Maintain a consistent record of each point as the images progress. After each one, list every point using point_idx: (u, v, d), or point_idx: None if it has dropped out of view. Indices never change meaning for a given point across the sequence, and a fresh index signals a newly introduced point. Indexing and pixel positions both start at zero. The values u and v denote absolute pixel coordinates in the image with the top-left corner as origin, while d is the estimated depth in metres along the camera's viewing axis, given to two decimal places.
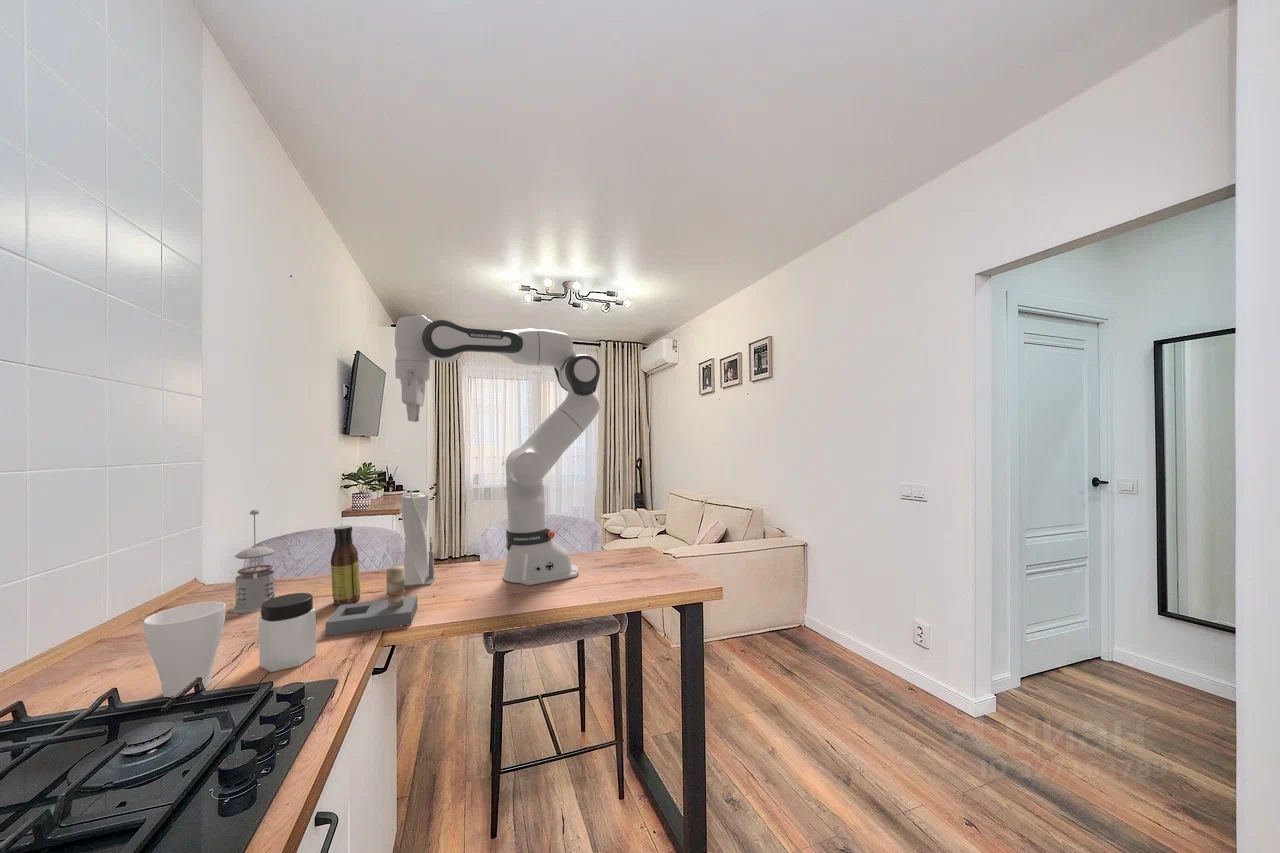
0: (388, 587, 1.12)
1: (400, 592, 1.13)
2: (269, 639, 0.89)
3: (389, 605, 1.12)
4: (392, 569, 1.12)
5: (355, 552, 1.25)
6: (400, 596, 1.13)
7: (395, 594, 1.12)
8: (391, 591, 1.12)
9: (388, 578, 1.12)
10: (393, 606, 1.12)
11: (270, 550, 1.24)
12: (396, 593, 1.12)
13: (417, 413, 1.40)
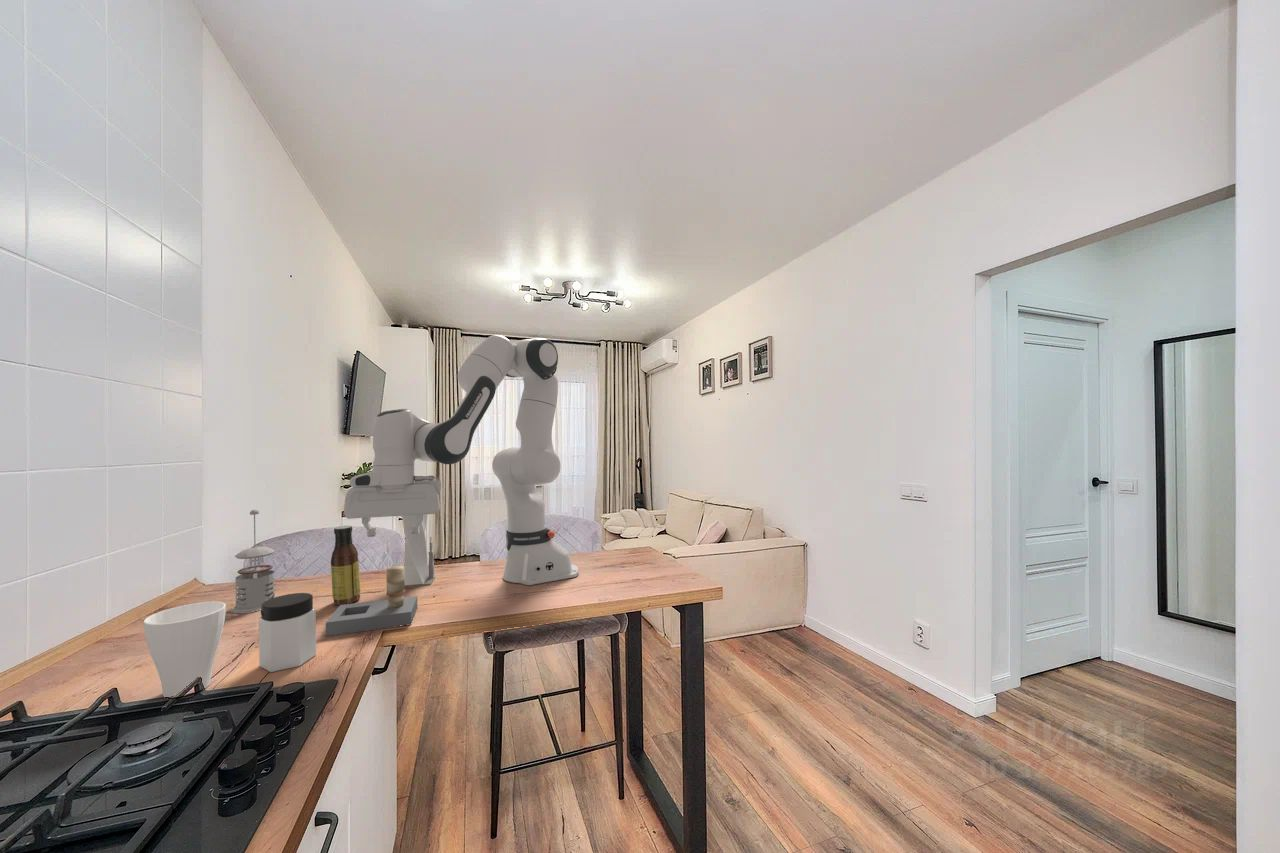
0: (388, 587, 1.12)
1: (400, 592, 1.13)
2: (269, 639, 0.89)
3: (389, 605, 1.12)
4: (392, 569, 1.12)
5: (355, 552, 1.25)
6: (400, 596, 1.13)
7: (395, 594, 1.12)
8: (391, 591, 1.12)
9: (388, 578, 1.12)
10: (393, 606, 1.12)
11: (270, 550, 1.24)
12: (396, 593, 1.12)
13: None
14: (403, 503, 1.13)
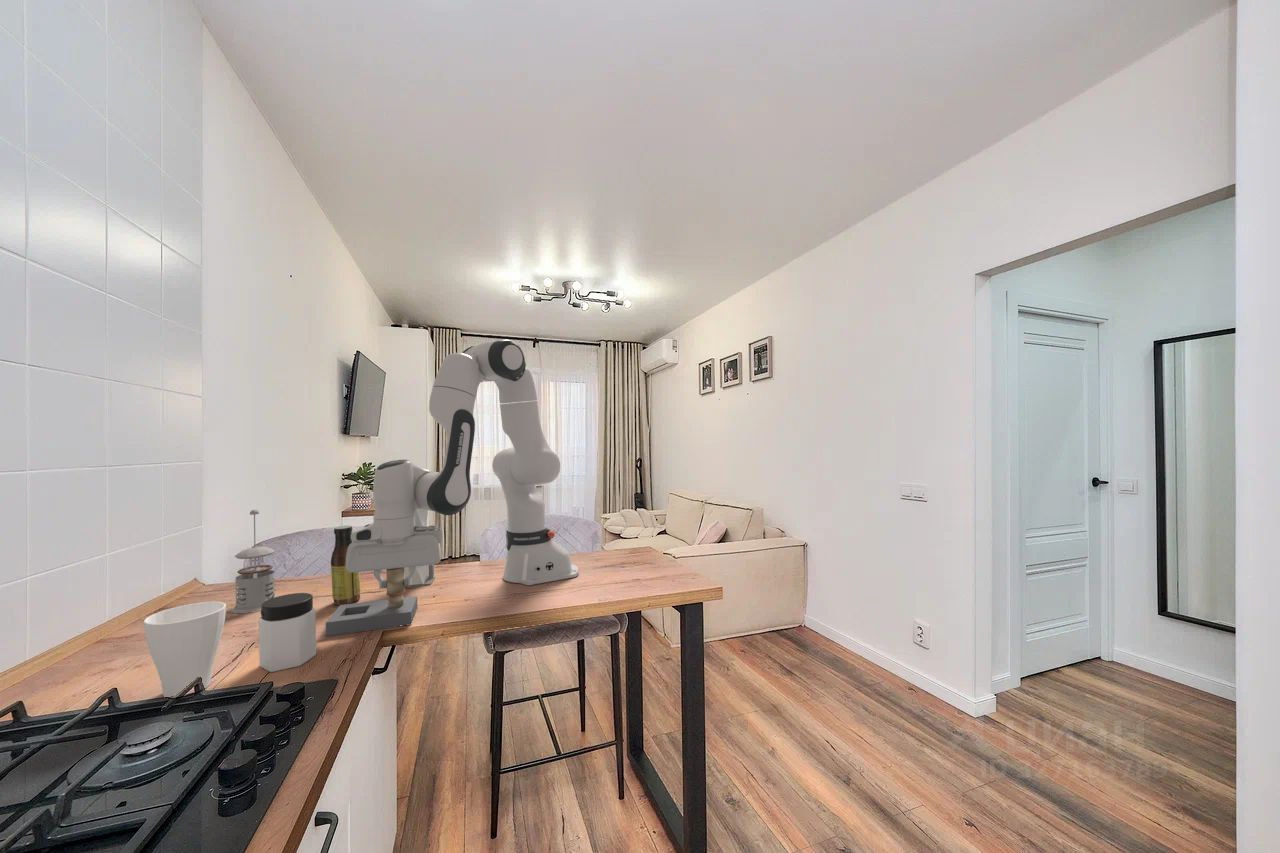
0: (388, 587, 1.12)
1: (400, 592, 1.13)
2: (269, 639, 0.89)
3: (389, 605, 1.12)
4: (392, 569, 1.12)
5: None
6: (400, 596, 1.13)
7: (395, 594, 1.12)
8: (391, 591, 1.12)
9: (388, 578, 1.12)
10: (393, 606, 1.12)
11: (270, 550, 1.24)
12: (396, 593, 1.12)
13: (381, 577, 1.13)
14: (404, 556, 1.13)
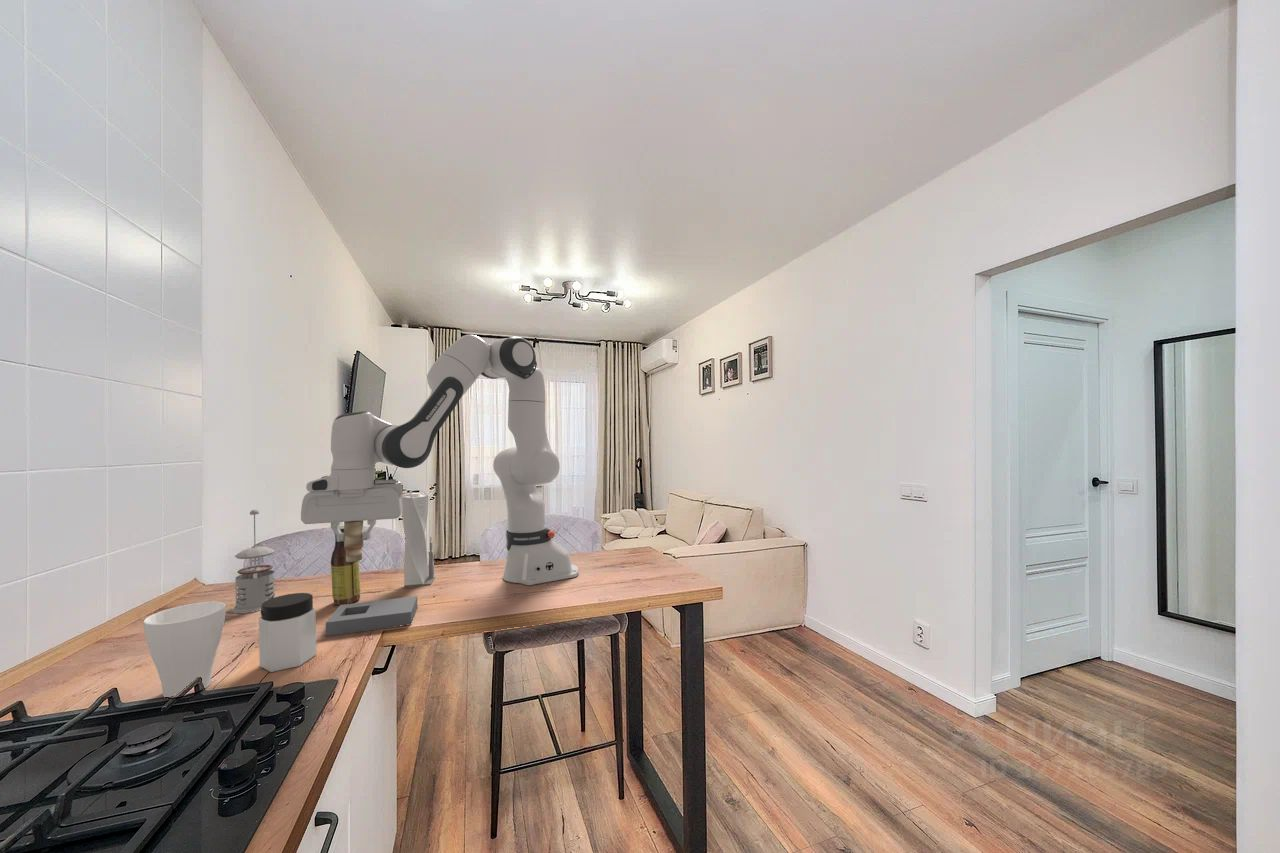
0: (345, 540, 1.09)
1: (358, 546, 1.10)
2: (269, 639, 0.89)
3: (346, 559, 1.09)
4: (350, 522, 1.10)
5: None
6: (358, 550, 1.10)
7: (352, 547, 1.09)
8: (348, 544, 1.09)
9: (345, 531, 1.09)
10: (350, 560, 1.09)
11: (270, 550, 1.24)
12: (354, 546, 1.09)
13: (339, 530, 1.10)
14: (363, 508, 1.10)
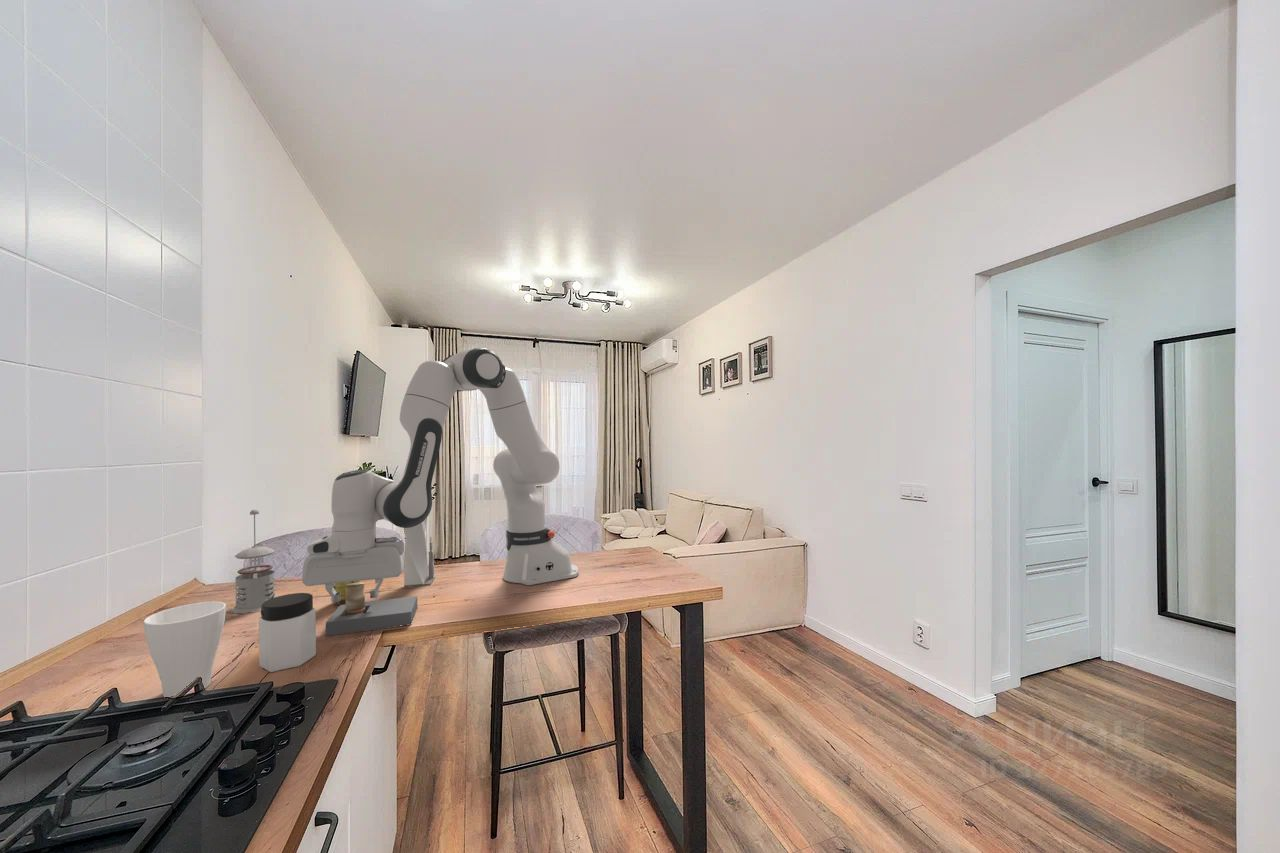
0: (347, 605, 1.09)
1: (359, 610, 1.10)
2: (269, 639, 0.89)
3: None
4: (351, 586, 1.10)
5: None
6: None
7: (354, 612, 1.09)
8: (350, 609, 1.09)
9: (347, 595, 1.09)
10: None
11: (270, 550, 1.24)
12: (355, 611, 1.09)
13: (334, 590, 1.10)
14: (364, 568, 1.10)
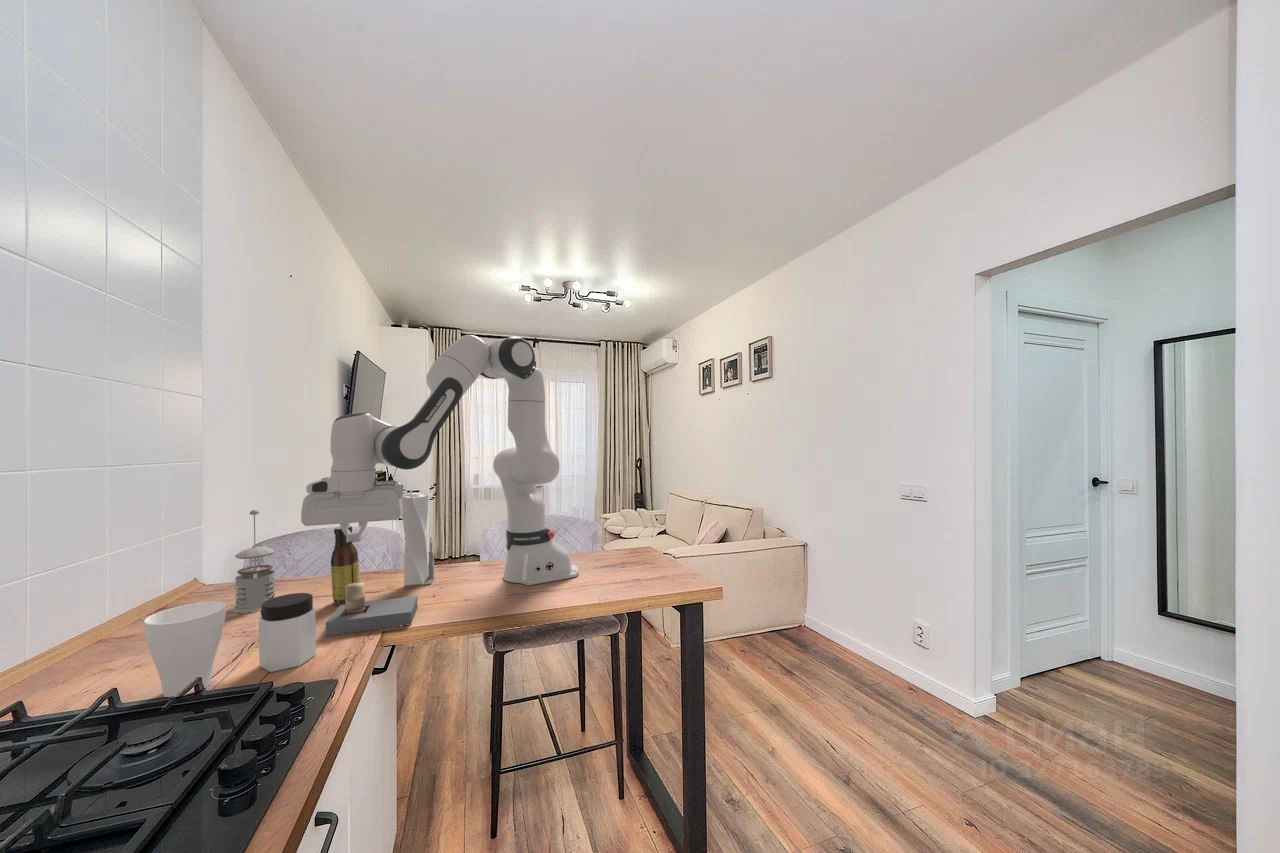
0: (347, 605, 1.09)
1: (359, 610, 1.10)
2: (269, 639, 0.89)
3: None
4: (351, 586, 1.10)
5: (355, 552, 1.25)
6: None
7: (354, 612, 1.09)
8: (350, 609, 1.09)
9: (347, 595, 1.09)
10: None
11: (270, 550, 1.24)
12: (355, 611, 1.09)
13: (349, 531, 1.11)
14: (363, 510, 1.10)
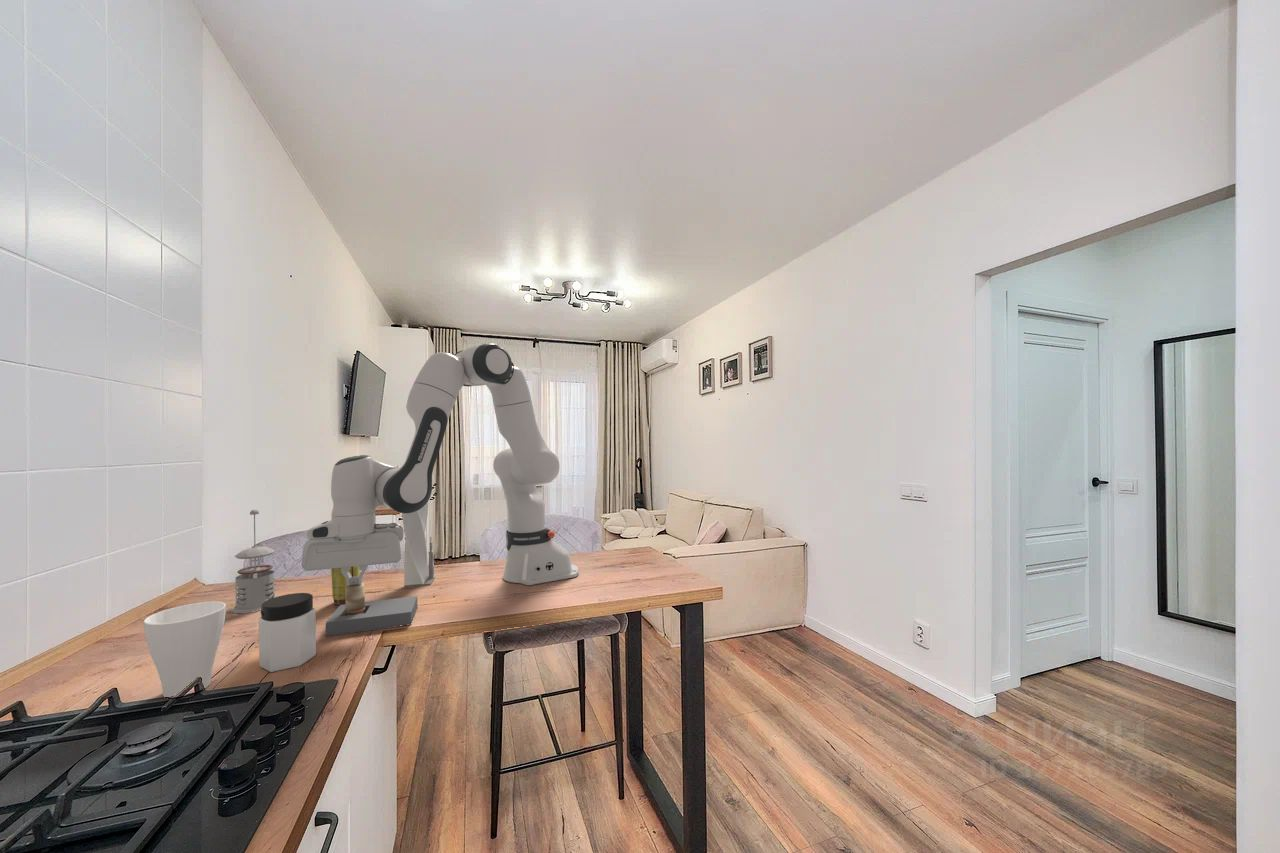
0: (347, 605, 1.09)
1: (359, 610, 1.10)
2: (269, 639, 0.89)
3: None
4: (351, 586, 1.10)
5: None
6: None
7: (354, 612, 1.09)
8: (350, 609, 1.09)
9: (347, 596, 1.09)
10: None
11: (270, 550, 1.24)
12: (355, 611, 1.09)
13: (349, 574, 1.11)
14: (363, 553, 1.10)
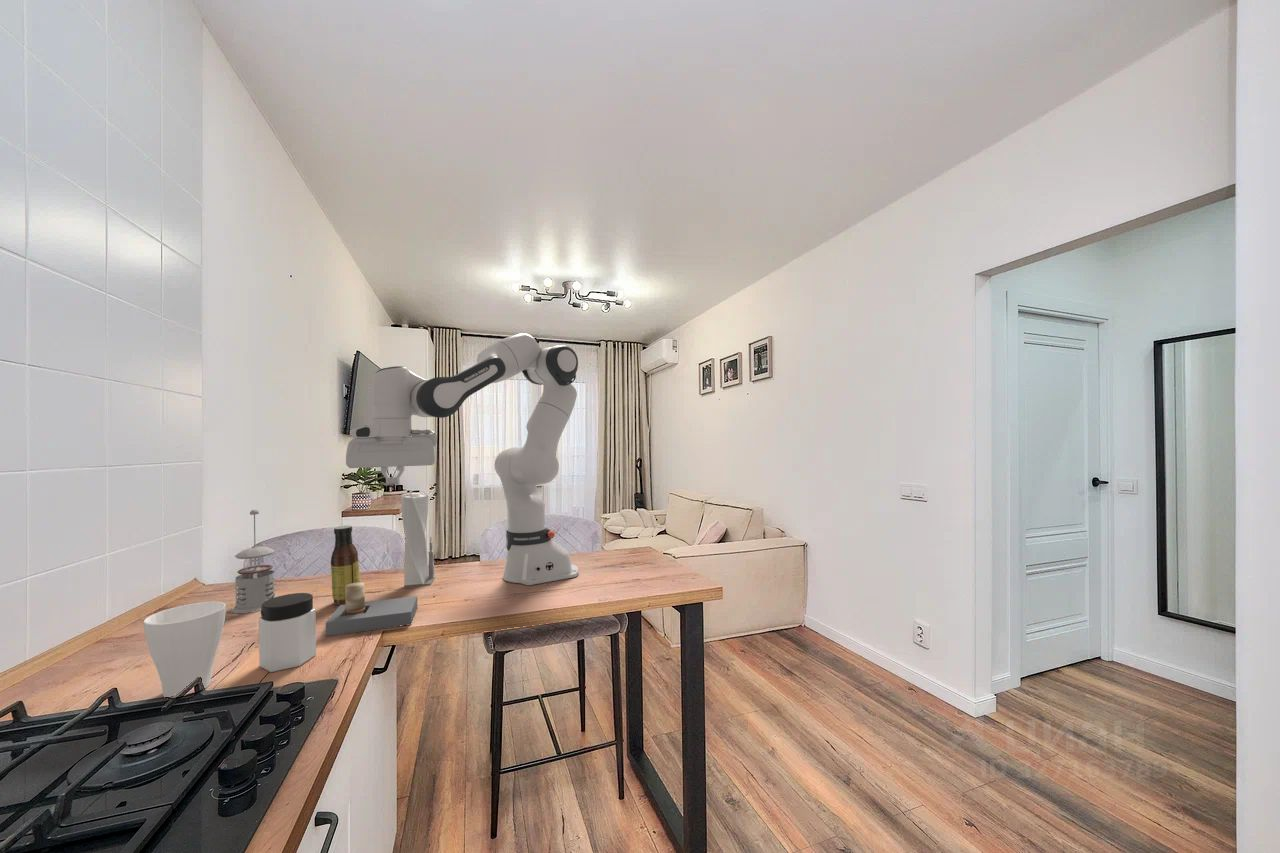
0: (347, 605, 1.09)
1: (359, 610, 1.10)
2: (269, 639, 0.89)
3: None
4: (351, 586, 1.10)
5: (355, 552, 1.25)
6: None
7: (354, 612, 1.09)
8: (350, 609, 1.09)
9: (347, 595, 1.09)
10: None
11: (270, 550, 1.24)
12: (355, 611, 1.09)
13: (388, 475, 1.21)
14: (401, 455, 1.20)
